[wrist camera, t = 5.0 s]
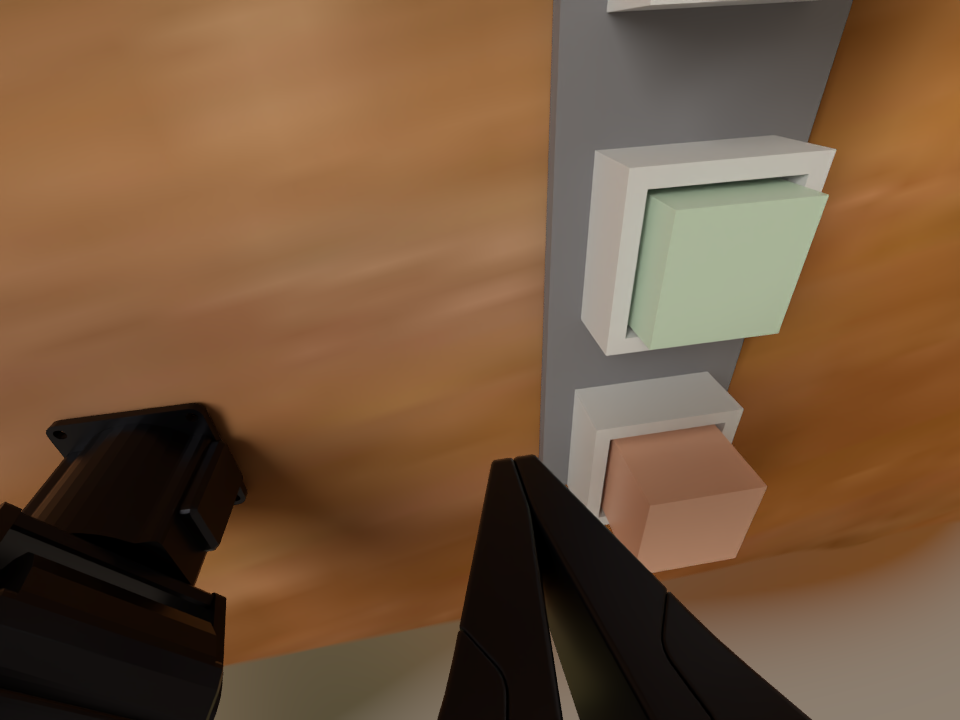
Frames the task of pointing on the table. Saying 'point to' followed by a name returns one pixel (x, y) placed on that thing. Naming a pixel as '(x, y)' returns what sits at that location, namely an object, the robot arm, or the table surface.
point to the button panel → (651, 165)
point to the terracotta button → (680, 497)
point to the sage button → (720, 259)
